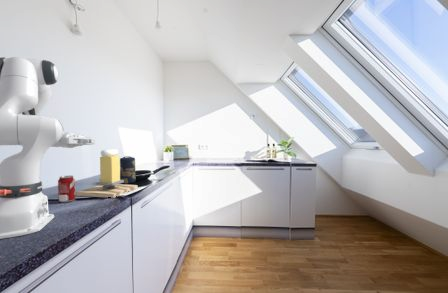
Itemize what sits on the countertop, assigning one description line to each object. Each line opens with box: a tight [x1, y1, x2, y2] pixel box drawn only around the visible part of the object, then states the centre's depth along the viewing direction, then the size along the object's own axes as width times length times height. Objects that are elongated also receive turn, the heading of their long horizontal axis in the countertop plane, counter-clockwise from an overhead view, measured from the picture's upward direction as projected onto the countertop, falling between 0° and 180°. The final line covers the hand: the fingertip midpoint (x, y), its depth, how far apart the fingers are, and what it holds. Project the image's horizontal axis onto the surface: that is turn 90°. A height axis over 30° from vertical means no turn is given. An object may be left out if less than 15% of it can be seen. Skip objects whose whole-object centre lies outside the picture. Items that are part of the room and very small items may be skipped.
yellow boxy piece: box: [95, 148, 124, 186], centre depth 132 cm, size 10×10×19 cm
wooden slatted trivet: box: [75, 183, 139, 199], centre depth 132 cm, size 22×22×4 cm
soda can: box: [57, 175, 76, 204], centre depth 113 cm, size 7×7×12 cm
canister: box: [120, 155, 137, 184], centre depth 157 cm, size 10×10×18 cm
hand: (90, 141), depth 132 cm, fingers closed
